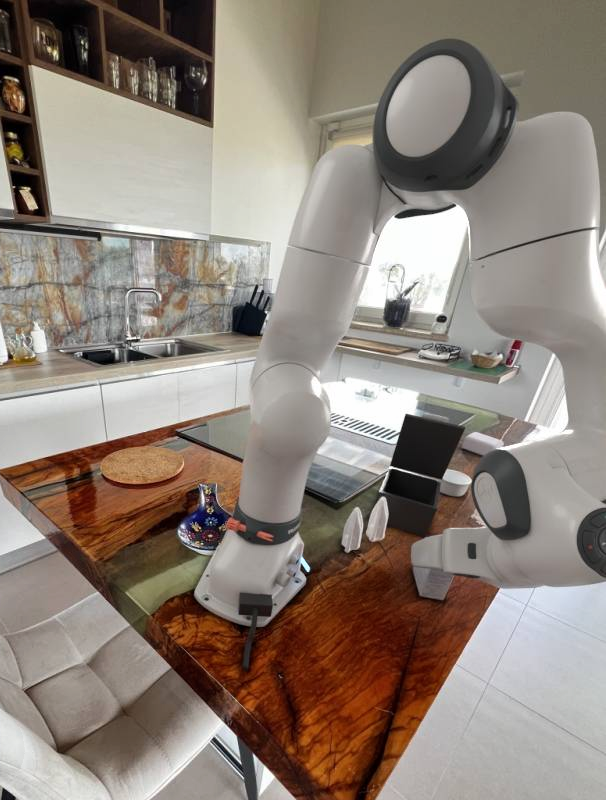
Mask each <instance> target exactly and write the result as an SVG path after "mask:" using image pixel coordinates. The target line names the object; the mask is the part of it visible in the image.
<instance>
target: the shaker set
mask: <svg viewBox="0 0 606 800" xmlns="http://www.w3.org/2000/svg"><path fill="white" fill-rule="evenodd" d="M374 506H375V507H374ZM374 506H373V509H372V511H371V512H370V515H369V519H368V524H367V529H366V530H365V535H366V536H367V538H368V539H369V541H370V542H371V543H374V542H381V541H383V539H385V536H386V529H387V526H388V525H387V520H388V515H389V514H388V506H387V501H386V498H385V497H381V498H380V499H379V501H378V502H377V504H376V505H375V504H374ZM363 530H364V520H363V515H362V511H361V509H360V507H358V506H356V507H354V509H353V510H352V511H351V513H350V515H349V516H348V518H347V520H346V522H345V523H344V527H343V532H342V533H343V534H342V539H341V546H343V547H344V550H343V551H344V552H345V553H350V552H351V551H352V550H353V551H356V550H357V551H358V549H360V547H361V542H362V536H363Z"/></svg>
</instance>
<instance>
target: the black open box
mask: <svg viewBox="0 0 606 800" xmlns="http://www.w3.org/2000/svg"><path fill="white" fill-rule="evenodd" d="M440 487H441V480H437V479H436V478H433V477H429V476H426V475H422V474H418V473H415V472H411V471H407V470H404V469H400V468H396V467H392V466H389V467H388V470H387V472H386V474H385V477H384V479H383V481H382V483H381V486H380V488H379V491H378V493H377V497H376V500H375V502H374V506H373V508H374V507H375V505H376V504H377V502H378V501H379V499H380V498H381V497H385V498H386V501H387V506H388V514H389V515H388V520H387V525H386V526H389V527H392V528H395V529H398V530H401V531H404V532H407V533H411V534H414V535H417V536H419V537H422V538H425V537H427V534H428V532H429V530H430V527H431V525H432V523H433V520H434V517H435V515H436V513H437V510H438V507H439V500H440V493H441V492H440Z"/></svg>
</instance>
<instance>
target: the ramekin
mask: <svg viewBox="0 0 606 800" xmlns="http://www.w3.org/2000/svg"><path fill="white" fill-rule="evenodd" d="M435 479H437V478H435ZM437 480H441V479H437ZM471 484H472V478H471V476H469V475H467V474H465V473H463V472H461V471H458V470H454V469H448V468H447V470H446V472H445V474H444V476H443V478H442V480H441V487H440V493H441V494H442V495H443V494H444V495H447V496H450V497H463V496H464V495H465V494H466V492H467V490H468V488H469V486H470V485H471Z"/></svg>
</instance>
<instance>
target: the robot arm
mask: <svg viewBox="0 0 606 800" xmlns="http://www.w3.org/2000/svg"><path fill="white" fill-rule="evenodd" d="M519 112H520V102H519V100H518V98H517V97H516V96H515V94H514V92H512V90H511V88H509V86H508V85H507V84H506V82H505V81H504V79H503V78H502V77H501V75H500V74H499V72H498V70H497V69H496V67H495V66H494V65H493V63H492V62H491V61H490V60H489V58H488V57H487V56H486V54H484V53H483V52H482V51H481V50H480V49H479V48H478V47H476V46H475V45H473V44H472V43H470V42H468V41H466V40H462V39H459V38H442V39H438V40H435V41H432V42H429V43H427V44H426V45H423V46H422V47H420V48H419V49H417V50H416V51H414V52H413V53H412V54H411V55H410V56H408V57H407V58H406V59H405V60H404V61H403V62H402V63H401V64H400V65H399V67H397V69H396V71H395V72H394V73H393V74H392V76H391V77H390V80H388V82H387V84H386V86H385V88H384V90H383V92H382V94H381V96H380V98H379V100H378V104H377V106H376V110H375V115H374V118H373V124H372V142H371V143H368V144H364V145H361V144H343V145H339V146H336V147H333V148H331V149H330V150H328V151H326V152H325V153H324V154H323V155H321V156H320V158H319V159H318V161H317V162H316V164H315V166H314V168H313V169H312V172H311V175H310V177H309V180H308V182H307V184H306V187H305V189H304V192H303V194H302V197H301V198H300V202H299V205H298V208H297V211H296V214H295V217H294V220H293V224H292V227H291V230H290V233H289V237H288V241H287V246H286V249H285V253H284V256H283V261H282V265H281V269H280V273H279V278H278V281H277V285H276V289H275V293H274V297H273V301H272V305H271V308H270V312H269V315H268V318H267V321H266V324H265V328H264V330H263V333H262V337H261V339H260V342H259V346H258V349H257V353H256V355H255V356H256V357H255V359H254V360H255V361H254V363H253V366H252V370H251V374H250V377H249V380H248V381H249V382H248V396H249V409H250V420H249V421H250V422H249V428H248V429H249V430H248V436H247V443H246V447H245V452H244V456H243V457H244V458H243V460H242V464H241V465H242V466H241V476H240V483H239V494H238V498H237V499H236V502H235V505H234V506H233V507H234V508H233V511H232V515H231V517H229V518H228V519H227V521H226V525H225V529H226V531H225V533H224V535H223V538H222V540H221V542H220V544H218V545H217V547H216V549H215V551H214V552H213V555H212V556H211V558H210V560H209V561H208V564H207V566H206V568H205V569H204V571H203V572H202V573H203V574H202V576H201V577H200V579H199V581H198V583H197V584H196V586H195V589H194V592H193V596H194V598H195V599H196V601H197V602H198V603H199V604H200V605H201V606H202V607H203V608H205V609H206V610H207V611H209V612H211V613H213V614H214V615H216V616H218V617H221V618H222V619H225V620H227V621H229V622H232V623H235V624H238V625H242V626H246V627H250V629H249V632H248V636H247V638H246V641H245V646H244V651H243V661H242V670H244V671H247V670H249V665H250V664H249V663H250V654H251V647H252V643H253V641H254V640H253V639H254V637H255V635H256V631H257V630H256V629H257V628H262V627H266V625H268V624H269V623H270V622H271V621H272V620H273V619H274V618H275V617H276V615H278V614H279V613H280V611H281V610H283V608H284V607H286V605H287V604H288V603H289V602H290V601H291V600H292V599H293V598H294V597H295V596H296V595H297V594H298V593H299V592H300V591H301V590H302V588H304V587H305V585H306V584H307V577H306V576H305V574H304V573H303V572H302V571H301V566H303V567H304V569H305V571H306V572H308V573H309V572H310V570H311V567H310V566H309V564H308V563H307V562H306V560H305V559H304V557H303V553H304V547H305V544H304V541H303V540H302V537H301V535H300V533H299V530H300V527H301V523H302V519H303V508H302V504H303V499H304V494H305V489H306V485H307V481H308V475H309V473H310V470H311V467H312V464H313V462H314V460H315V457H316V455H317V453H318V451H319V449H320V448H321V446H323V445H324V443H325V442H326V440H327V439H328V437H329V435H330V432H331V428H332V409H331V400H330V398H329V395H328V393H327V391H326V390H325V388H324V387H323V385H322V379H323V375H324V372H325V369H326V367H327V365H328V364H329V362H330V359H331V357H332V356H333V354H334V352H335V350H336V349H337V347H338V345H339V343H340V342H341V340H342V339H343V338H344V337H345V335H346V334H347V333H348V331H349V329H350V328H351V327H350V326H351V324H352V320H353V317H354V315H355V312H356V309H357V308H358V307H357V306H358V303H359V301H360V298H361V295H362V292H363V289H364V286H365V285H366V284H365V283H366V280H367V278H368V274H369V272H370V268H371V266H372V263H373V260H374V257H375V254H376V252H377V251H376V250H377V248H378V245H379V242H380V240H381V237H382V234H383V233H384V231H385V229H386V226H388V224H389V223H390V221H391V220H392V219H393V218H395V219H397V220H401V219H402V220H403V219H409V218H415V217H421V216H422V217H423V216H431V215H436V214H440V213H441V214H442V213H444V212H447V211H450V210H452V209H453V208H456V207H458V208H459V209H460V210H462V212H463V214H464V216H465V219H466V222H467V228H468V229H467V230H468V239H469V240H468V241H469V291H470V299H471V304H472V308H473V311H474V314H475V316H476V318H478V320H479V321H480V323H482V324H483V326H485V327H487V329H489V330H491V331H492V332H494V333H496V334H497V335H500V336H502V337H505V338H507V339H510V340H515V341H519V342H525V343H531V344H534V345H538V346H541V347H543V348H545V349H547V350H548V351H550V352H551V353H553V355H555V357H556V358H557V360H558V361H559V364H560V366H561V368H562V377H563V384H564V385H563V386H564V393H565V401H566V403H565V404H566V411H567V424H566V426H565V428H564V429H562V431H561V432H560V433H559V434H556V435H551V436H547V437H542V438H539V439H534V440H526V441H523V442H519V443H515V444H510V445H507V446H506V445H505V446H503V447H502V448H498V449H493V450H490V451H489V452H487V453H486V454H485V455H484V456H482V457H481V458H480V460H479V461H478V463H477V464H476V467H475V468H474V471H473V474H472V478H471V480H472V482H471V484H470V485H471V486H470V493H471V497H472V501H473V505H474V507H475V509H476V511H477V514H478V515H479V517H480V519H481V520H482V522H483V523H484V524H485V526H483V527H448V528H445V529H443V531H442V534H435V535H431V536H426V537H427V538H425V537H423V538H422V539H420V540H417V541H415V542H413V543H412V544H411V547H410V548H411V549H410V561H411V565H412V566H413V567H414V566H415V567H419V568H429V569H438V570H444V572H445V573H446V574H453V575H455V576H457V577H462V578H468V579H473V580H476V581H479V582H481V583H484V584H488V585H490V586H493V587H495V588H499V589H502V590H513V589H514V590H517V589H536V588H537V589H538V588H541V587H544V586H545V587H549V588H570V587H572V588H573V587H583V586H590V585H596V584H602V583H605V582H606V277H605V275H604V271H603V266H602V261H601V253H600V226H601V225H600V224H601V223H600V222H601V186H600V171H599V170H600V169H599V163H598V155H597V147H596V142H595V137H594V131H593V128H592V125H591V123H590V122H589V120H588V119H587V118H586V117H584V116H583V115H582V114H579V113H577V112H573V111H552V112H546V113H543V114H540V115H537V116H535V117H532V118H528V119H525V120H522V121H519V120H518V116H519Z"/></svg>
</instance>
